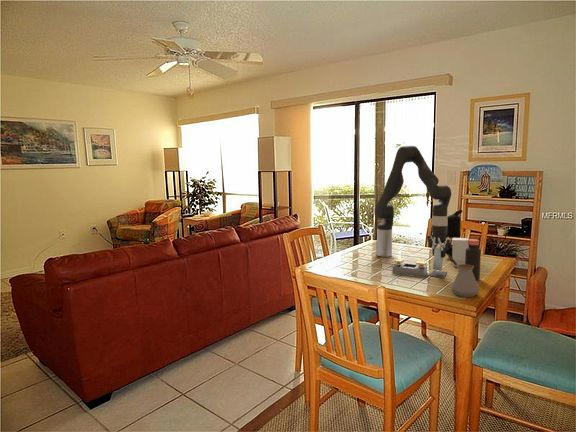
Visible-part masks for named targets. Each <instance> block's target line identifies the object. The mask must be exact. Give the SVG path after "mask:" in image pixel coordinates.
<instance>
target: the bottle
mask: <svg viewBox="0 0 576 432" xmlns="http://www.w3.org/2000/svg"><path fill="white" fill-rule="evenodd" d="M479 245H480V239H476V238H468V248H466V252H465V264H467V265H472V266H474V268H473V270H472V272H473V274H474V277H475V279H476V282H477V281H480V277H481V274H480V273H481V254H482V253H481V252H482V251H481V249H480V248H479Z"/></svg>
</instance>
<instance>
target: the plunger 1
mask: <svg viewBox="0 0 576 432" xmlns="http://www.w3.org/2000/svg"><path fill="white" fill-rule="evenodd" d="M402 262H403V263H404V258H395V259H393V263H397V265H400V263H402Z"/></svg>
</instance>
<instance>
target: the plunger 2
mask: <svg viewBox="0 0 576 432" xmlns="http://www.w3.org/2000/svg"><path fill="white" fill-rule="evenodd" d="M415 264H416V265H420V267H421V268H424V265H428V264H427V261H424V260H417V261H416V263H415Z"/></svg>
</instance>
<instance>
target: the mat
mask: <svg viewBox="0 0 576 432" xmlns="http://www.w3.org/2000/svg"><path fill="white" fill-rule="evenodd" d="M447 274H448V271H443V270H432V271H431V272H430V275H429V277H431V278H432V277H433V278H441V279H445V277H446V275H447Z"/></svg>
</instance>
